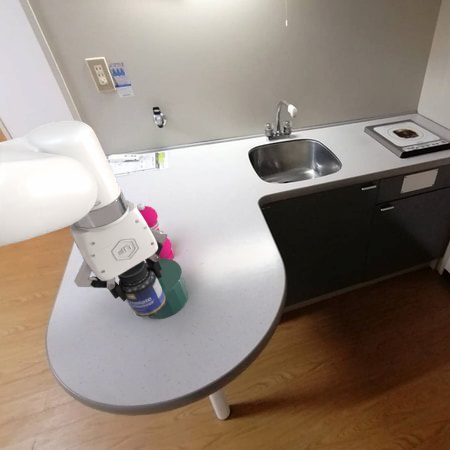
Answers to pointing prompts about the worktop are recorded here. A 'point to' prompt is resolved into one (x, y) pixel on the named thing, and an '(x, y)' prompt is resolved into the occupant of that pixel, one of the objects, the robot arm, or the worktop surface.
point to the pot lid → (169, 274)
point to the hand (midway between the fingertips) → (139, 284)
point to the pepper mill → (152, 223)
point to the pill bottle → (142, 290)
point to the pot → (173, 301)
